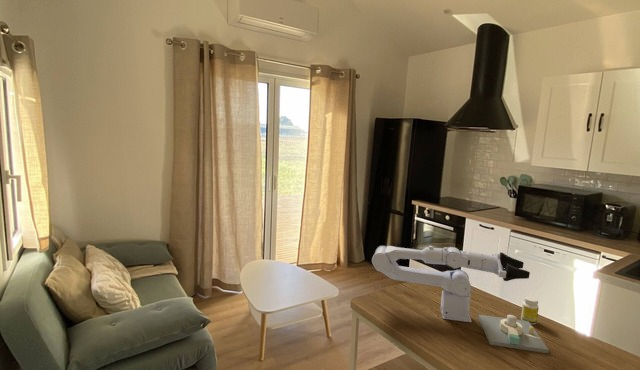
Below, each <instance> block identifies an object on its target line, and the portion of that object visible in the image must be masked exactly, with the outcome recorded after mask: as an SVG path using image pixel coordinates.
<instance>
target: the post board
mask: <svg viewBox="0 0 640 370" xmlns="http://www.w3.org/2000/svg"><path fill="white" fill-rule="evenodd" d="M477 319H478V320H479V323H480V326H481V327H482V330H483V332H484V334H485V336H486V339H487V341H488V343H489V345H490V346H498V347H502V348H503V347H504V348H510V349H516V350H523V351H530V352H535V353H544V354H549V350H550V349H549V348H548V346H547V345H546V343H545V342H544V341H543V339H542V338H541V336H540V335H539V334H538V332H537V331H536V330H535V327H534V326H533V324H530V323H529V321H523V320H521V319H518V317H517V316H515V315H514V314H507V315H506V317H500V316H499V317H498V316H493V315H484V314H478V317H477ZM502 319H507V322H506V325H507V326H509V327H514V328H516V323H517V322H518V323H520V324H521V325H522V328H523V329H522V334H521V335H518V336H519V338H520V340H519V345H516V344H511V343H509V338H508V333H505V332H504V331H502V330H501V329H500V320H502Z"/></svg>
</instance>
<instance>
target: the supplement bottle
mask: <svg viewBox="0 0 640 370" xmlns="http://www.w3.org/2000/svg"><path fill="white" fill-rule="evenodd" d="M523 300H524V301H523V302H522V305H521V314H520V320H523V321H529V323H530V324H531V325H536V324H537V323H538V316H539V315H538V313H539V305H538V304H539V299H538V298H536V297H534V296H530V295H529V296H528V295H527V296H524V299H523Z"/></svg>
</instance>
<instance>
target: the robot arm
mask: <svg viewBox="0 0 640 370" xmlns="http://www.w3.org/2000/svg"><path fill="white" fill-rule="evenodd" d="M400 259H401V260H407V259H408V260H421V261H422V262H424V263H425V264H430V265H431V264H433V265H443V266H445V265H447V266H448V267H451V268H452V269H454V270H446V271H436V270H430V269H422V268H416V267H410V266H409V267H408V266H402V265H399V264H398V262H397V261H398V260H400ZM371 263H372V265H373V267H374V268H375V270H376V271H377V272H380V273H382V274H383V275H385V276H386V277H388V278H389V279H391V280H394V281H399V282H400V281H401V282H406V283H414V284H420V285H426V286H433V287H439V288H443V289H442V290H441V299H440V312H441V316H442V319H444V320H451V321H457V322H458V321H459V322H464V323H465V322H466V323H472V319H471V316H470V305H471V294H472V293H471V292H472V285H471V281H470V278H469V274H468V273H467V272H466V271H464V270H462V269H459V268H465V269H470V270H475V271H481V272H485V273H493V274H494V275H497V276H498V277H499V278H501V279H502V280H503V281H504V282H509V281H513V280H522V279H527V280H528V279H529V278H530V274H531V272H530V271H528V270H525V269H523V268H524V264H525V263H524V262H523V261H522V260H518V259H516V258H514V257H510V256H509V255H507V254H506V253H504V252H501V251H500V252H499V253H498V252H497V253H492V255H490V254H484V253H479V252H472V251H467V250H460V249H458V247H454V246H449V247H447V246H445V247H443V248H441V247H434V246H433V245H429V246H426V247H424V248H423V249H417V248H416V249H415V248H408V247H407V248H405V247H399V246H393V245H387V246H386V245H379V246H377V248H376V249H375V251H374V254H373V256H372V257H371ZM455 269H456V270H455Z"/></svg>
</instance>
